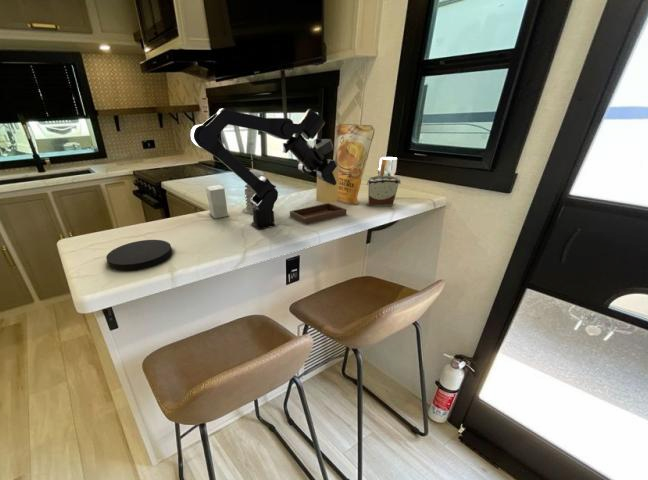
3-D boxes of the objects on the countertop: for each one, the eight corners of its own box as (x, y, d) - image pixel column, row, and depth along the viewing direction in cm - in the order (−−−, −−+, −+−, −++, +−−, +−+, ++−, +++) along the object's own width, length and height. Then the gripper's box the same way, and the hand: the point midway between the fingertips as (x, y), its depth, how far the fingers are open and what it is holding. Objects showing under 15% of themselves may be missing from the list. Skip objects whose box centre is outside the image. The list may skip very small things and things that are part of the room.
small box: (228, 216, 120) (224, 188, 114) (214, 218, 118) (209, 190, 113) (223, 211, 126) (219, 184, 121) (209, 213, 125) (205, 186, 119)
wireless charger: (160, 241, 101) (158, 235, 100) (181, 257, 89) (180, 251, 88) (102, 256, 92) (100, 250, 91) (117, 277, 80) (114, 270, 79)
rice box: (325, 204, 110) (327, 167, 103) (316, 200, 114) (317, 165, 108) (337, 201, 111) (339, 166, 105) (327, 198, 116) (328, 163, 110)
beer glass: (393, 195, 133) (399, 157, 125) (389, 199, 128) (395, 159, 120) (377, 193, 137) (382, 156, 129) (372, 197, 132) (377, 159, 124)
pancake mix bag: (338, 194, 139) (342, 123, 124) (368, 203, 124) (377, 124, 110) (326, 197, 137) (329, 124, 122) (354, 206, 122) (362, 125, 107)
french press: (258, 205, 131) (253, 139, 118) (275, 210, 123) (272, 140, 110) (239, 210, 126) (231, 142, 113) (255, 216, 118) (249, 143, 105)
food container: (393, 200, 126) (397, 174, 120) (397, 205, 121) (401, 178, 115) (362, 201, 127) (365, 176, 122) (364, 205, 122) (367, 179, 117)
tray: (305, 224, 107) (305, 218, 106) (289, 217, 115) (289, 211, 114) (346, 215, 113) (346, 209, 112) (328, 208, 121) (328, 202, 120)
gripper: (333, 131, 92) (361, 167, 101) (306, 128, 107) (332, 160, 116) (309, 162, 94) (338, 195, 103) (286, 155, 109) (313, 184, 118)
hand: (330, 182), depth 110 cm, fingers closed on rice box, 6 cm apart
